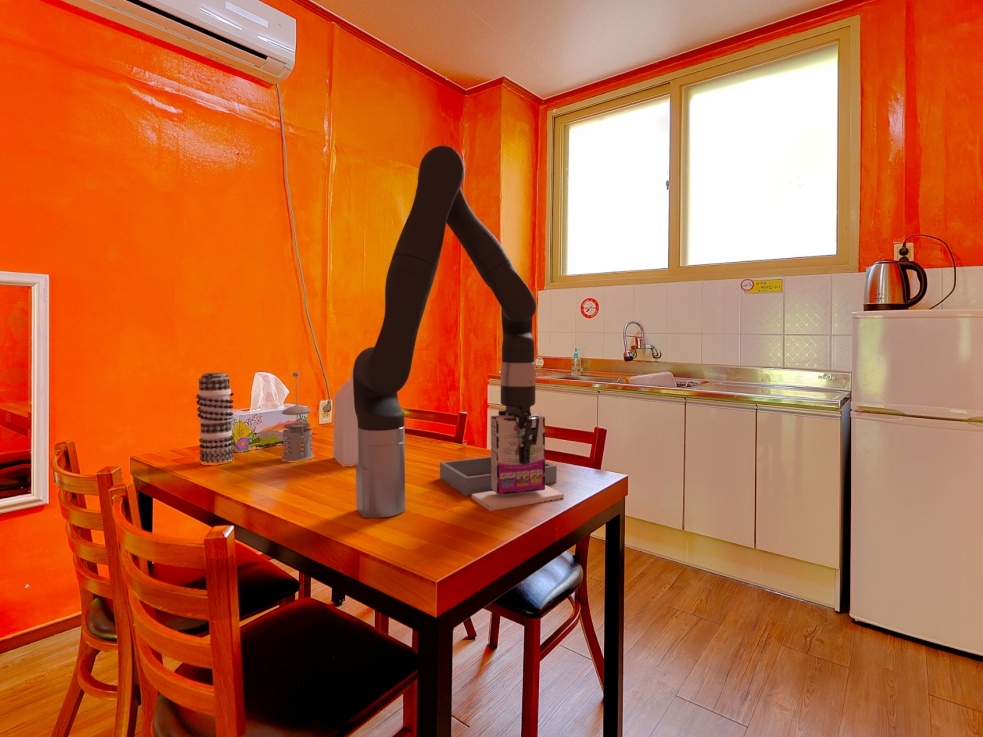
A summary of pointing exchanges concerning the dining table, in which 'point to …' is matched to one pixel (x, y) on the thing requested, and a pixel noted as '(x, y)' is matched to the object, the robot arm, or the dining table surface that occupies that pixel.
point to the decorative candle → (215, 418)
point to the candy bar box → (515, 457)
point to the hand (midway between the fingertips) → (517, 460)
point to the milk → (345, 425)
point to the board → (515, 498)
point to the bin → (461, 469)
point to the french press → (297, 434)
